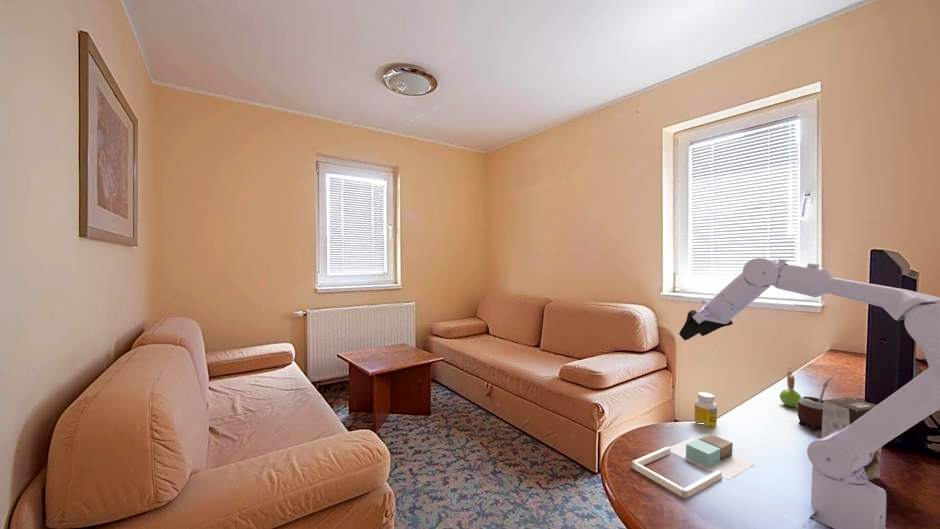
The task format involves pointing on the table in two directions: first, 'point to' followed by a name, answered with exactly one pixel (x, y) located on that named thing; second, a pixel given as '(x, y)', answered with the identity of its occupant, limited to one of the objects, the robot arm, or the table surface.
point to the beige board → (726, 466)
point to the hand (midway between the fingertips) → (691, 334)
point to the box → (667, 483)
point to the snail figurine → (790, 392)
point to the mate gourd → (812, 410)
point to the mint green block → (703, 453)
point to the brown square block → (719, 445)
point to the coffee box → (841, 416)
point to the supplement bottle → (705, 410)
